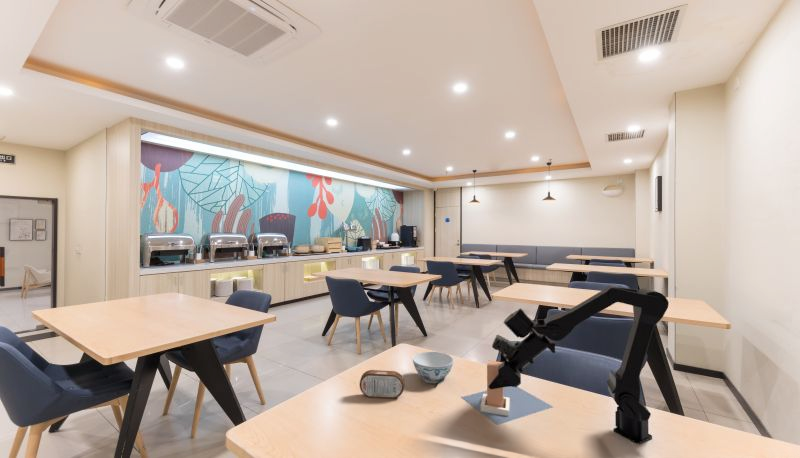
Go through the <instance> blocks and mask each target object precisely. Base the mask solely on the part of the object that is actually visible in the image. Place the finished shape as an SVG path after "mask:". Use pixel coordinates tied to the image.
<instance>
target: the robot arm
mask: <svg viewBox="0 0 800 458" xmlns="http://www.w3.org/2000/svg"><path fill="white" fill-rule="evenodd" d="M616 303H620V304H624V305H629V306H632V309H633V322H632V325H631V329H630V332H629V336H628V339H627V343H626V346H625V350H624V353H623V356H622V360H621V364H620V367H619V368H618V369H617V370H616V371H614V370H611V369H610V370H609V374H608V375H609V376H608V379H607V381H606V382H605V383H606V385H607V389H608V392H609V393H610V396H611V397H612V398H613V400H614V402H615V403H616V404H615V405H617V407H616V410H615V412H614V413H615V414H614V415H615V416H614V417H615V418H614V419H615V421H614V422H615V423H614V424H615V427H614V428H613V432H614V433H616V434H618V435H621V436H622V437H624V438H626V439H628V440H629V441H631V442H634V443H636V444H637V445H639V444H642V443H644V442H646V441H649V440H651V439H653V435H652V434H650V433H649V419H650V417H651V415H652V413H651V412H650V411H649V409H648V408H647V407H646V405H645V404H644V403H643V401H642V399H641V382H640V376H641V373H642V369H643V365H644V363H645V359H646V355H647V352H648V350H649V345H650V341H651V340H652V339H651V338H652V335H653V333H654V328H655V326H656V325H657V324H658V323H659V322H660V321H661V320H662V319H663V318H664V316H665V314H666V312H667V310H668V308H669V300H668V298H667V297H666V296H665V295H664V294H663V293H660V292H659V291H657V290H654V289H651V288H648V287H647V288H646V287H643V288H640V289H635V288H634V289H633V288H626V287H620V286H619V287H618V286H616V285H613V284H612V285H608V286H606V287H605V288H603V289H602V290H600V291H599V292H597V293H596V294H594V295H592V296H591V297H589V298H587V299H585V300H584V301H581V302H580V303H579V304H577V305H575V306H574V307H572V308H570V309H568V310H565V311H562V312H557V313H555V314H551V315H548V316H547V317H545V318H544V319H532V318H531V317H529V316H528V315H527V313H525V311H524V310H523V308H518V309H517V310H515V311H514V312H512V313H511V314H509V315H508V316H507V317H506V318H505V319H504V321H503V324H504V325H505V327H507V328H508V330H510V332H512V333H513V335H515V336H516V338H520V339H522V340H521V341H516V342H512V341H510V340H509V339H507V338H506V337H503V336H501V335H500V334H496V336H495V338H494V340H493V342H492V346H491V347H492V348H493V350H496V351H498V352H500V355H499V356H500V359H499V361H498V362H503V363H502V364H501V365H500V366H499V368H498V375H497V376H496V377H495V378H494V380H493V381H492V382H491V383H490V384H489V386H488V387H489V388H490V389H497V388H502V387H510V386H512V387H519V386H520V385H522V375H521V373H523V372H524V368H525V367H527V366H528V365H529V364H530V365H532V364H533V363H535V359H537V358H538V357H539V356H540V355H541V354H542V353H544V352H545V351H546V350H547V349H548V350H549V351H550V352H551V353H553V354H555V353H556V345H557V344H556V342H559V341H560V342H561V341H562V340H564V339H565V338H566V337H567V336H568V335H570V334H571V333H572V331H574V329H575V328H576V327H577V326H579V324H581V323H582V322H584V321H586V320H588V319H590V318H592V317H593V316H595V315H596V314H599V313H600V312H602V311H604V310H605V309H607V308H609V307H611V306H612V305H615V304H616Z"/></svg>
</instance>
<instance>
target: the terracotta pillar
mask: <svg viewBox="0 0 800 458" xmlns="http://www.w3.org/2000/svg"><path fill="white" fill-rule="evenodd" d="M502 363H503V362H499V361H497V360H496V361H495V360H488V361H487V364H486V387H487V388H486V389H487V390H486V391H487V405H489V406H495V407H501V408H503V406H504V387H502V388H497V389H490V388H489V387H488V386H489V384H490V383H491V382H492V381H493V380H494V378H495V377H496V376H497V375H498V368H499V366H500V365H501V364H502Z"/></svg>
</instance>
